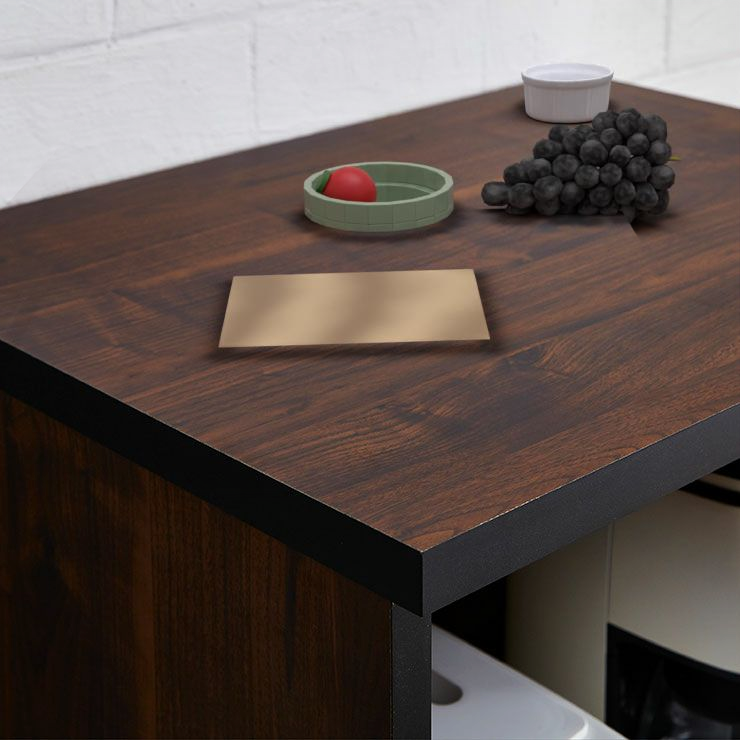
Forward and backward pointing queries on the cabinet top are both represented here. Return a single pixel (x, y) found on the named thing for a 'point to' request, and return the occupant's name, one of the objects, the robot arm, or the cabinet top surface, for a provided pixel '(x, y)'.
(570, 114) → the ramekin
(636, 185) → the fruit
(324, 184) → the tomato
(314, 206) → the bowl
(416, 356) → the cabinet top surface
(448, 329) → the serving board
